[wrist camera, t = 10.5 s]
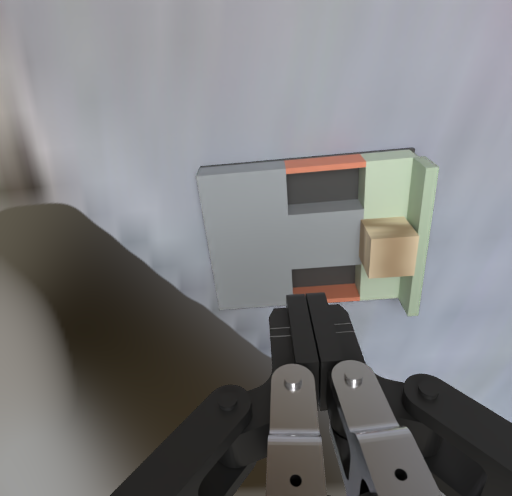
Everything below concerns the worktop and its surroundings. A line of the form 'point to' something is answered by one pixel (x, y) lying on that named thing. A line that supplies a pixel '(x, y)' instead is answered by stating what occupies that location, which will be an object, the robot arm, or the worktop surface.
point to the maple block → (388, 247)
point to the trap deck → (312, 225)
